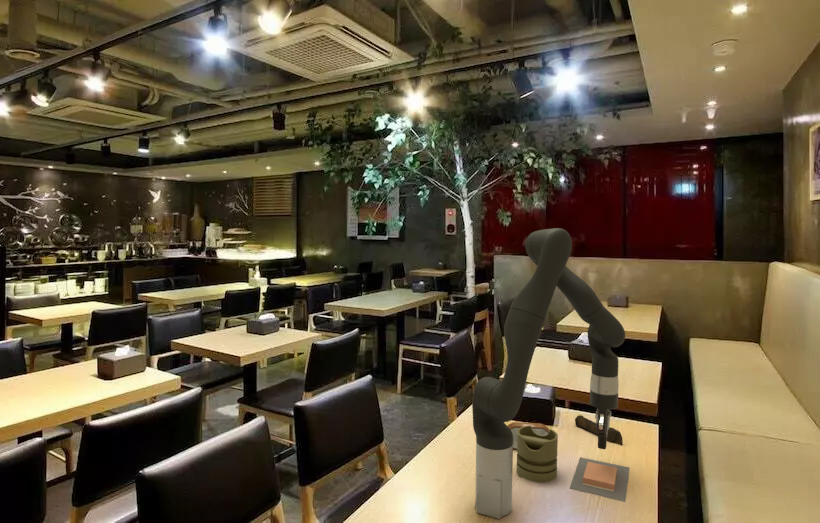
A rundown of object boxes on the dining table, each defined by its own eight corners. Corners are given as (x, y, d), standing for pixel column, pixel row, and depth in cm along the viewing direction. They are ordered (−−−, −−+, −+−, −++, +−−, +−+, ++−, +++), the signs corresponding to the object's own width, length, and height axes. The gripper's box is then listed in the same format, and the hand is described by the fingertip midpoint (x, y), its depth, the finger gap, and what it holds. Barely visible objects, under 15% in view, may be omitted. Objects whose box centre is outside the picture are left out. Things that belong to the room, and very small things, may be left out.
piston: (522, 422, 150) (560, 429, 145) (521, 460, 151) (559, 468, 146) (513, 437, 140) (554, 445, 135) (512, 478, 141) (553, 487, 136)
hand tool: (573, 426, 176) (574, 413, 176) (582, 424, 178) (582, 412, 178) (615, 449, 159) (616, 435, 159) (624, 446, 161) (625, 432, 160)
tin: (550, 448, 159) (551, 422, 159) (552, 452, 156) (553, 426, 156) (503, 445, 161) (503, 420, 160) (504, 450, 158) (504, 424, 157)
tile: (617, 474, 142) (614, 491, 133) (587, 468, 145) (582, 484, 136) (617, 467, 142) (614, 484, 133) (587, 461, 145) (583, 477, 136)
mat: (625, 503, 128) (625, 501, 128) (569, 490, 134) (569, 488, 134) (629, 468, 146) (629, 467, 146) (580, 458, 152) (580, 457, 152)
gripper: (616, 398, 133) (614, 460, 135) (620, 384, 145) (617, 441, 146) (587, 394, 137) (585, 454, 138) (592, 380, 148) (591, 436, 150)
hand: (602, 447), depth 142 cm, fingers closed
